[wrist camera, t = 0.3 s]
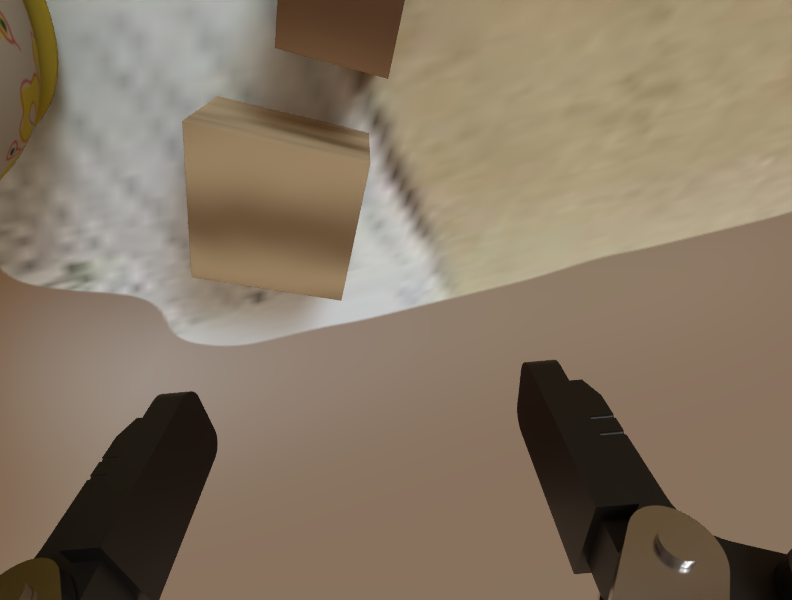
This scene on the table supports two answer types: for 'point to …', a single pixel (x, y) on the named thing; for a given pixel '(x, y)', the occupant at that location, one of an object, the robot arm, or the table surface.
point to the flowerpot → (24, 73)
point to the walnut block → (341, 31)
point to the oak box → (272, 197)
